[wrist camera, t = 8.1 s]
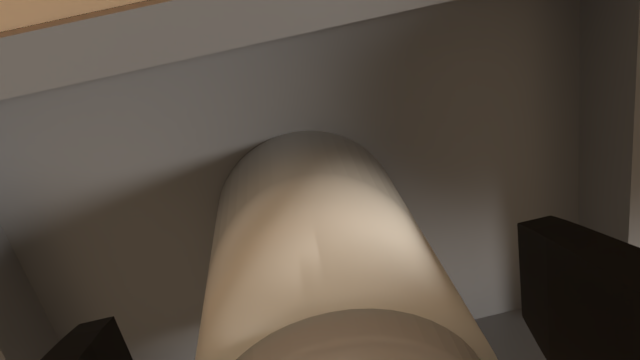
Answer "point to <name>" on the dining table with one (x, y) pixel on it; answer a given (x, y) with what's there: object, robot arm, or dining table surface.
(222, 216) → the salt shaker
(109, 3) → the dining table surface
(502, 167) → the tray
